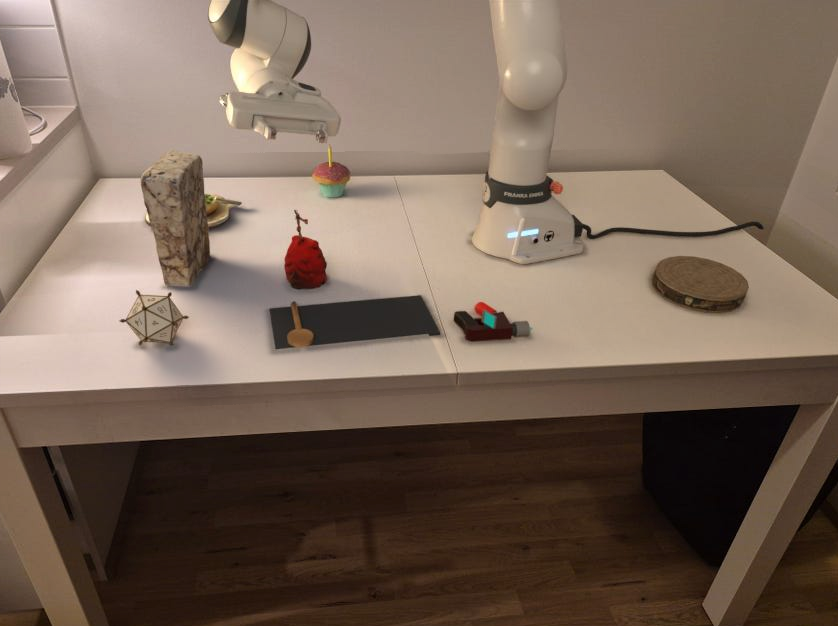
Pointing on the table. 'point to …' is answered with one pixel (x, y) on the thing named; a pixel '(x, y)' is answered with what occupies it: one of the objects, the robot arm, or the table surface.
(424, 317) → the placemat
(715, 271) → the wood slice
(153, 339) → the game die
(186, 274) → the stone block
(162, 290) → the table surface
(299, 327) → the spoon
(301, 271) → the red clay folk toy
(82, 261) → the table surface
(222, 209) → the salad plate
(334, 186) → the cupcake
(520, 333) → the toy gun
